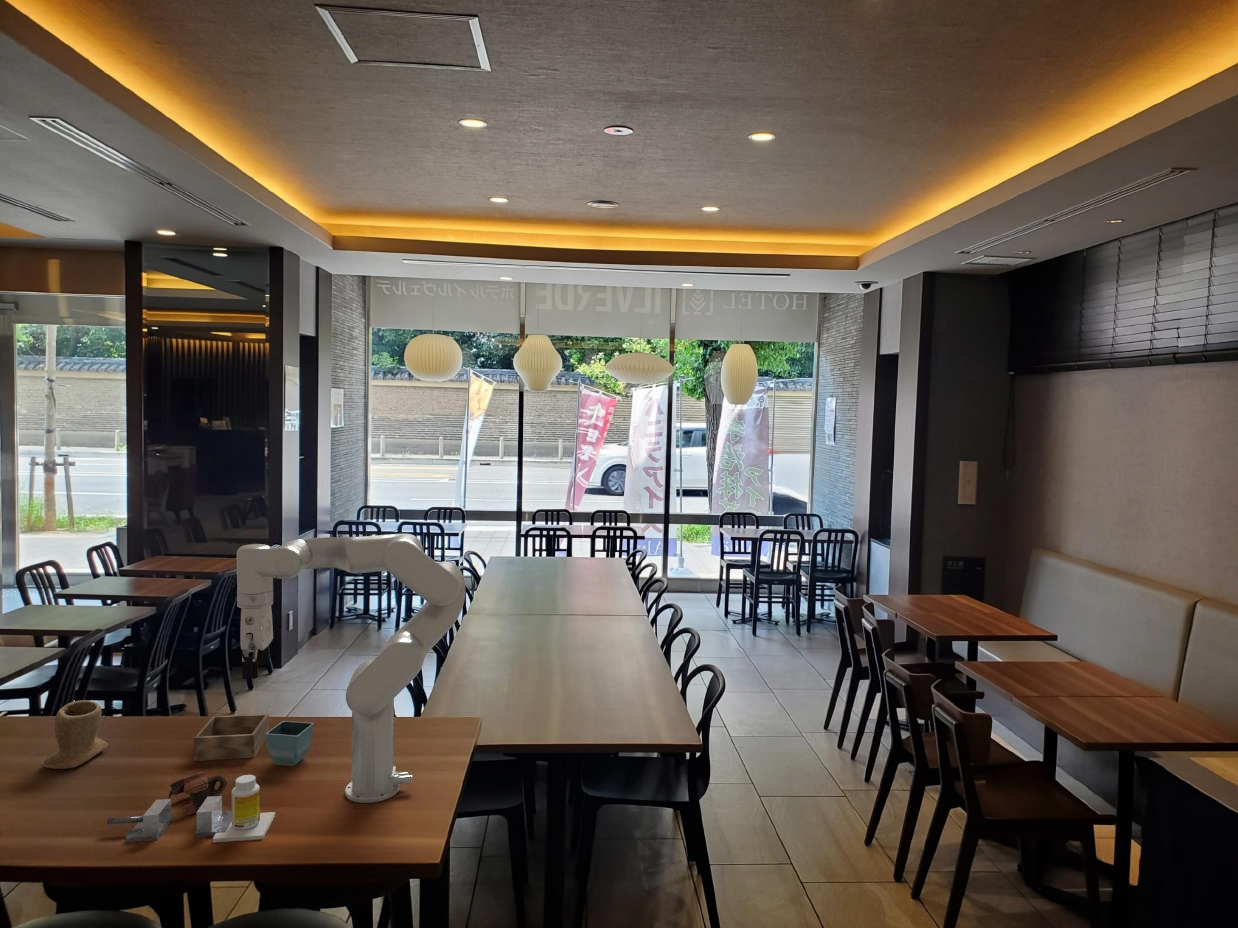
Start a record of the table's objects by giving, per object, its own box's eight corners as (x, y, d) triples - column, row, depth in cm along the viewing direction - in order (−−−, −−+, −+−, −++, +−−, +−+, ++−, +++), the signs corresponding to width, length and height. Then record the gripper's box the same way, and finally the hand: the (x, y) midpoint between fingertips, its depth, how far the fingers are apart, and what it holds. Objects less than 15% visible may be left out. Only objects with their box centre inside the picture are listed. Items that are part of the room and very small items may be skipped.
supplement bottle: (264, 824, 175) (264, 778, 174) (238, 833, 171) (237, 787, 170) (253, 815, 179) (252, 770, 178) (227, 824, 175) (226, 778, 174)
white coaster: (275, 815, 180) (275, 811, 180) (263, 838, 171) (263, 835, 170) (227, 818, 179) (227, 814, 179) (212, 842, 169) (212, 838, 169)
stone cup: (79, 774, 198) (78, 715, 197) (34, 771, 199) (32, 712, 198) (122, 748, 213) (121, 693, 212) (80, 745, 214) (78, 691, 213)
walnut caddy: (269, 734, 224) (268, 713, 223) (254, 757, 209) (254, 734, 209) (213, 737, 221) (212, 716, 221) (194, 760, 207) (193, 737, 207)
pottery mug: (171, 822, 178) (162, 785, 180) (179, 821, 186) (170, 786, 188) (229, 798, 183) (220, 762, 185) (234, 798, 191) (225, 764, 193)
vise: (238, 814, 180) (237, 792, 180) (225, 835, 172) (225, 812, 171) (117, 821, 176) (117, 799, 176) (98, 843, 167) (98, 820, 167)
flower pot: (314, 755, 211) (314, 722, 211) (298, 770, 203) (297, 735, 202) (282, 753, 212) (282, 720, 212) (265, 768, 203) (264, 733, 203)
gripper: (262, 607, 177) (263, 683, 178) (281, 589, 194) (282, 659, 195) (226, 608, 176) (227, 684, 177) (248, 590, 193) (249, 660, 194)
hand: (256, 671), depth 186 cm, fingers open, 9 cm apart
